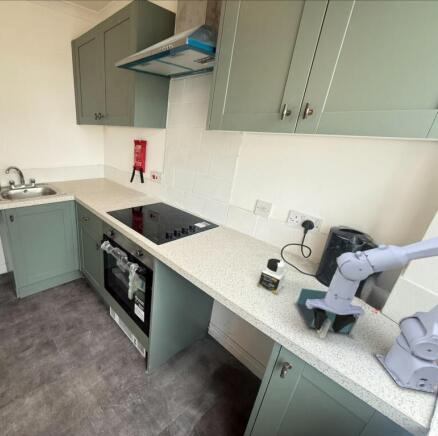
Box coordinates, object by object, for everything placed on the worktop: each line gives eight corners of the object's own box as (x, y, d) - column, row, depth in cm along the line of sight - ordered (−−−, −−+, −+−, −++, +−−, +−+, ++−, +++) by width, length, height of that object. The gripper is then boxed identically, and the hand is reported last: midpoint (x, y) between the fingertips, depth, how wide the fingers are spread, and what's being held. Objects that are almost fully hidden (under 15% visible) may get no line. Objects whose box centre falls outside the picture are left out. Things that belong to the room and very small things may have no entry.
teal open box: (350, 336, 78) (359, 316, 75) (309, 329, 80) (316, 310, 77) (331, 310, 89) (339, 292, 86) (296, 305, 91) (302, 287, 88)
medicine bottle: (257, 285, 101) (264, 260, 97) (264, 278, 106) (271, 254, 101) (275, 294, 97) (283, 268, 92) (281, 286, 101) (289, 261, 97)
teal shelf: (356, 345, 74) (365, 327, 71) (318, 339, 75) (325, 321, 73) (346, 331, 79) (354, 314, 76) (310, 325, 80) (317, 308, 78)
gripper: (360, 288, 72) (344, 323, 77) (307, 280, 74) (295, 315, 79) (376, 304, 65) (358, 341, 70) (317, 295, 68) (303, 332, 73)
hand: (325, 329), depth 74 cm, fingers open, 4 cm apart
